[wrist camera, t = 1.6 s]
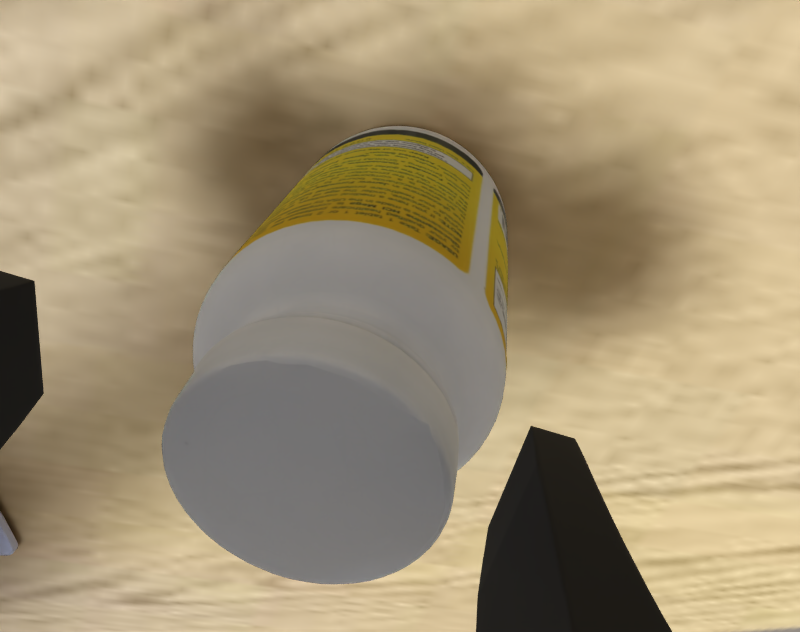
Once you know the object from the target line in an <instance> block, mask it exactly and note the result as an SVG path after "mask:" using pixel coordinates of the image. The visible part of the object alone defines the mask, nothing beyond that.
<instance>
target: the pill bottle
mask: <svg viewBox="0 0 800 632" xmlns="http://www.w3.org/2000/svg"><path fill="white" fill-rule="evenodd" d="M507 297H508V237H507V222H506V215H505V209H504V206H503V202H502V199H501V196H500V194H499V191H498V189H497V187H496V185H495V183H494V181H493V180H492V178H491V176H490V175H489V174H488V172H487V171H486V169H485V168H484V167H483V166H482V165H481V163H480V162H479V161H478V160H477V159H476V158H475V157H474V156H473V155H472V154H471V153H470V152H468V151H467V150H466V149H465V148H463V147H462V146H461V145H459V144H457V143H456V142H454V141H453V140H451V139H449V138H447V137H445V136H443V135H441V134H438V133H435V132H432V131H429V130H425V129H421V128H416V127H409V126H387V127H380V128H374V129H370V130H367V131H364V132H361V133H358V134H356V135H354V136H351V137H349V138H347V139H345V140H343V141H342V142H340V143H339V144H337V145H336V146H334V147H333V148H332V149H330V150H329V151H328V152H327V153H326V154H325V155H324V156H323V157H322V158H321V159H319V160H318V161H317V162H316V163H315V165H314V166H313V167H312V168H311V169H310V170H309V171H308V172H307V173H306V174H305V176H304V177H303V178H302V179H301V180H300V181H299V182H298V183H297V185H296V186H295V187H294V188H293V189H292V190H291V191H290V193H289V194H288V195H287V196H286V197H285V198H284V200H283V201H282V202H281V203H280V204H279V205H278V206H277V208H276V209H275V210H274V211H273V212H272V213H271V214H270V216H269V217H268V218H267V219H266V220H265V221H264V222H263V223H262V224H261V226H260V227H259V228H258V229H257V230H256V231H255V232H254V234H253V235H252V236H251V237H250V238H249V239H248V240H247V241H246V243H245V244H244V245H243V246H242V247H241V248H240V249H239V250H238V251H237V253H236V254H235V255H234V256H233V257H232V258H231V260H230V261H229V262H228V263H227V264H226V265H225V267H224V268H223V269H222V271H221V272H220V273H219V275H218V276H217V278H216V279H215V281H214V282H213V284H212V285H211V287H210V289H209V290H208V292H207V294H206V296H205V299H204V301H203V303H202V305H201V308H200V311H199V314H198V317H197V321H196V326H195V331H194V340H193V364H194V372H193V374H192V375H191V377H190V378H189V380H188V381H187V383H186V384H185V386H184V387H183V389H182V390H181V392H180V393H179V395H178V396H177V398H176V399H175V401H174V403H173V405H172V406H171V408H170V411H169V413H168V416H167V419H166V422H165V425H164V430H163V435H162V454H163V462H164V468H165V471H166V475H167V478H168V481H169V483H170V486H171V488H172V490H173V492H174V494H175V496H176V498H177V499H178V501H179V503H180V504H181V506H182V507H183V509H184V510H185V511H186V513H187V514H188V515H189V516H190V518H191V519H192V520H193V521H194V522H195V523H196V524H197V525H198V527H199V528H200V529H201V530H202V531H203V532H205V533H206V534H207V535H208V536H209V537H210V538H211V539H213V540H214V541H215V542H216V543H218V544H219V545H220V546H221V547H223V548H224V549H226V550H227V551H229V552H230V553H232V554H234V555H235V556H237V557H239V558H241V559H242V560H244V561H246V562H247V563H249V564H252V565H254V566H256V567H259V568H261V569H263V570H266V571H268V572H270V573H273V574H276V575H279V576H282V577H286V578H289V579H294V580H299V581H304V582H310V583H318V584H349V583H359V582H365V581H371V580H374V579H378V578H381V577H384V576H387V575H390V574H392V573H395V572H397V571H399V570H401V569H403V568H405V567H407V566H408V565H410V564H411V563H412V562H414V561H415V560H417V559H418V558H420V557H421V556H422V555H423V554H424V553H425V552H426V551H427V550H428V549H429V548H430V547H431V546H432V545H433V543H434V542H435V541H436V540H437V538H438V537H439V535H440V534H441V532H442V530H443V528H444V526H445V524H446V522H447V520H448V518H449V514H450V511H451V508H452V503H453V497H454V490H455V482H456V475H457V471H458V470H459V469H460V468H461V467H462V466H464V465H465V464H466V463H467V462H468V461H469V460H470V459H471V458H472V457H473V455H474V454H475V453H476V452H477V451H478V450H479V449H480V447H481V446H482V444H483V443H484V441H485V440H486V438H487V437H488V435H489V433H490V431H491V429H492V427H493V425H494V423H495V421H496V419H497V416H498V413H499V410H500V406H501V403H502V399H503V392H504V386H505V378H506V366H507V356H506V351H507Z"/></svg>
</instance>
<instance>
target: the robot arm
mask: <svg viewBox="0 0 800 632" xmlns="http://www.w3.org/2000/svg"><path fill="white" fill-rule="evenodd" d="M43 394H44V392H43V380H42V368H41V355H40V343H39V331H38V319H37V307H36V295H35V283H34V281H33V280H29V279H26V278H22V277H19V276H15V275H12V274H9V273H5V272H2V271H0V449H1V448H2V447H3V445H4V444H5V443H6V442H7V440H8V439H9V438H10V437H11V436H12V434H13V433H14V432H15V431H16V429H17V428H18V427H19V426H20V424H21V423H22V422H23V420H24V419H25V418H26V416H27V415H28V414H29V412H30V411H31V410H32V408H33V407H34V406H35V404H36V403H37V402H38V400H39V399H40V398H41V396H42V395H43ZM17 548H18V543H17V540H16V538H15V537H14V535H13V533H12V531H11V529H10V528H9V526H8V524H7V522H6V520H5V518H4V517H3V515H2V513H1V511H0V555H11V554H13V553H14V551H15V550H16V549H17ZM476 632H672V631H671V629H670V627H669V625H668V624H667V622H666V620H665V619H664V617H663V615H662V613H661V611H660V610H659V608H658V606H657V604H656V602H655V601H654V599H653V597H652V595H651V593H650V591H649V590H648V588H647V586H646V584H645V582H644V580H643V578H642V576H641V574H640V572H639V570H638V568H637V566H636V565H635V563H634V561H633V559H632V557H631V555H630V553H629V551H628V549H627V547H626V545H625V543H624V541H623V539H622V537H621V535H620V533H619V531H618V529H617V527H616V525H615V523H614V521H613V519H612V517H611V515H610V512H609V510H608V508H607V506H606V504H605V502H604V500H603V498H602V496H601V493H600V491H599V489H598V487H597V485H596V483H595V480H594V478H593V476H592V474H591V472H590V469H589V467H588V465H587V463H586V460H585V458H584V456H583V454H582V452H581V450H580V448H579V446H578V444H577V442H576V440H575V439H574V438H571V437H567V436H564V435H560V434H557V433H554V432H550V431H547V430H543V429H540V428H536V427H533V426H531V427H530V430H529V432H528V434H527V437H526V439H525V441H524V444H523V446H522V449H521V451H520V453H519V456H518V458H517V460H516V463H515V465H514V467H513V470H512V472H511V475H510V477H509V479H508V482H507V484H506V486H505V489H504V491H503V494H502V496H501V498H500V501H499V503H498V505H497V508H496V510H495V512H494V515H493V517H492V520H491V522H490V524H489V527H488V533H487V539H486V545H485V551H484V557H483V564H482V570H481V577H480V584H479V591H478V602H477V624H476Z"/></svg>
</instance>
